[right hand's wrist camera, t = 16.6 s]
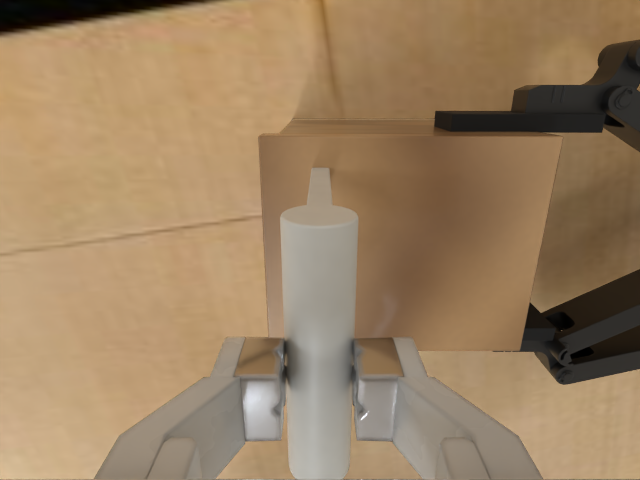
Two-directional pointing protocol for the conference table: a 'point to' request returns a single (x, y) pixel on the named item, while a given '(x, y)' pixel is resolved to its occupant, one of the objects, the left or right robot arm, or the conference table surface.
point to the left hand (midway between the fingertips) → (431, 229)
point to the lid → (393, 258)
